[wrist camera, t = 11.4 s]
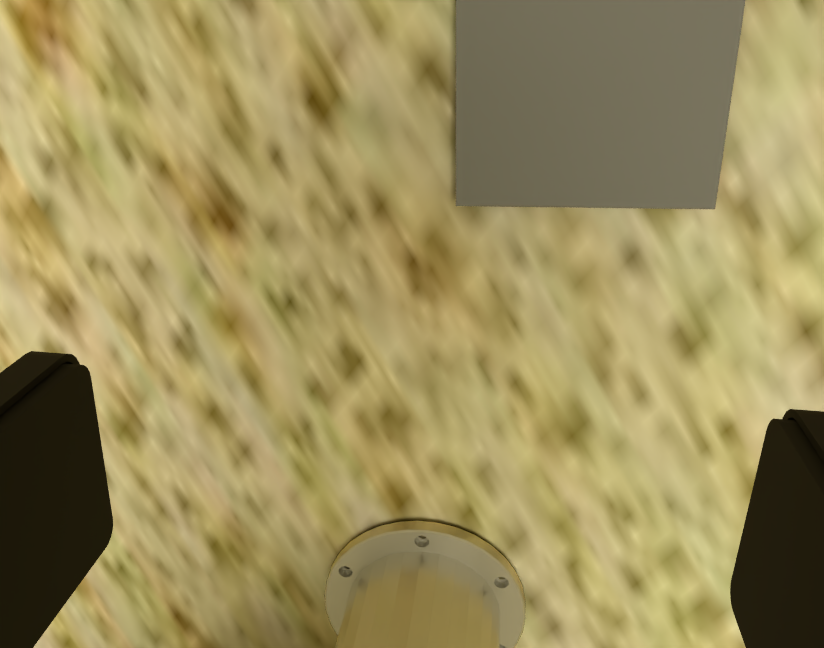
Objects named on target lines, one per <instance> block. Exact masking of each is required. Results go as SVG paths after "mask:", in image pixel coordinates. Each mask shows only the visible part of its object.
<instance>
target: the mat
mask: <svg viewBox="0 0 824 648" xmlns="http://www.w3.org/2000/svg"><path fill="white" fill-rule="evenodd" d="M744 6H745V0H456V206H502V207H582V208H662V209H715V205H716V199H717V192H718V185H719V178H720V171H721V164H722V157H723V151H724V144H725V137H726V130H727V123H728V116H729V109H730V103H731V96H732V89H733V82H734V75H735V68H736V61H737V54H738V48H739V41H740V34H741V27H742V20H743V13H744Z"/></svg>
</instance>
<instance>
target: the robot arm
mask: <svg viewBox="0 0 824 648" xmlns="http://www.w3.org/2000/svg"><path fill="white" fill-rule="evenodd" d="M112 529H113V517H112V511H111V504H110V498H109V491H108V485H107V478H106V472H105V465H104V459H103V452H102V446H101V440H100V433H99V427H98V420H97V414H96V407H95V401H94V394H93V388H92V381H91V376H90V372H89V370H88V368H87V367H86V366H84V365H80V364H79V362H78V360H77V358H76V357H75V356H73V355H72V354H60V353H47V352H34V351H31V352H29V353H27V354H25V355H24V356H22V357H21V358H20V359H18V360H17V361H16V362H14V363H13V364H12V365H10V366H9V367H8V368H6V369H5V370H4V371H2V372H1V373H0V648H33V647H34V645H35V644H36V643H37V641H38V640H39V639H40V637H41V636H42V634H43V633H44V632H45V630H46V629H47V628H48V626H49V625H50V624H51V622H52V621H53V619H54V618H55V617H56V615H57V614H58V613H59V611H60V610H61V608H62V607H63V606H64V604H65V603H66V602H67V600H68V599H69V597H70V596H71V595H72V593H73V592H74V591H75V589H76V588H77V587H78V585H79V584H80V582H81V581H82V580H83V578H84V577H85V576H86V574H87V573H88V571H89V570H90V569H91V567H92V566H93V565H94V563H95V562H96V560H97V559H98V558H99V556H100V555H101V554H102V552H103V551H104V550H105V548H106V547H107V545H108V543H109V541H110V538H111V534H112ZM730 595H731V605H732V609H733V612H734V615H735V618H736V621H737V624H738V626H739V629H740V632H741V635H742V638H743V641H744V643H745V646H746V648H824V412H820V411H807V410H794V409H790V410H788V411H787V412H786V413H785V415H784V416H783V419H772V420H771V421H770V423H769V425H768V427H767V431H766V435H765V439H764V443H763V448H762V452H761V456H760V460H759V465H758V469H757V473H756V477H755V482H754V486H753V490H752V494H751V499H750V503H749V507H748V511H747V516H746V520H745V524H744V529H743V533H742V537H741V541H740V546H739V550H738V554H737V558H736V563H735V567H734V571H733V575H732V580H731V589H730ZM324 597H325V607H326V612H327V615H328V618H329V621H330V624H331V625H332V627H333V629H334V630H335V632H336V634H337V635H338V638H337V641H336V645H335V648H515V646H516V645H517V643H518V641H519V639H520V637H521V635H522V632H523V628H524V623H525V597H524V592H523V587H522V584H521V582H520V580H519V578H518V575H517V573H516V571H515V570H514V569H513V567H512V566H511V565H510V563H509V562H508V561H507V559H506V558H505V557H504V556H503V555H502V554H501V553H500V552H498V551H497V550H496V549H495V548H494V547H493V546H492V545H490V544H489V543H487V542H485V541H484V540H482V539H481V538H479V537H477V536H476V535H474V534H471V533H469V532H467V531H464V530H462V529H460V528H457V527H453V526H449V525H445V524H441V523H436V522H426V521H404V522H395V523H391V524H386V525H382V526H379V527H376V528H374V529H371V530H369V531H367V532H364V533H363V534H361V535H360V536H358V537H357V538H355V539H354V540H352V541H351V542H349V543H348V544H347V546H346V547H345V548H344V549H343V550H342V551H341V552H340V553H339V554H338V556H337V558H336V559H335V561H334V563H333V564H332V567H331V570H330V573H329V576H328V579H327V582H326V588H325V595H324Z"/></svg>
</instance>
